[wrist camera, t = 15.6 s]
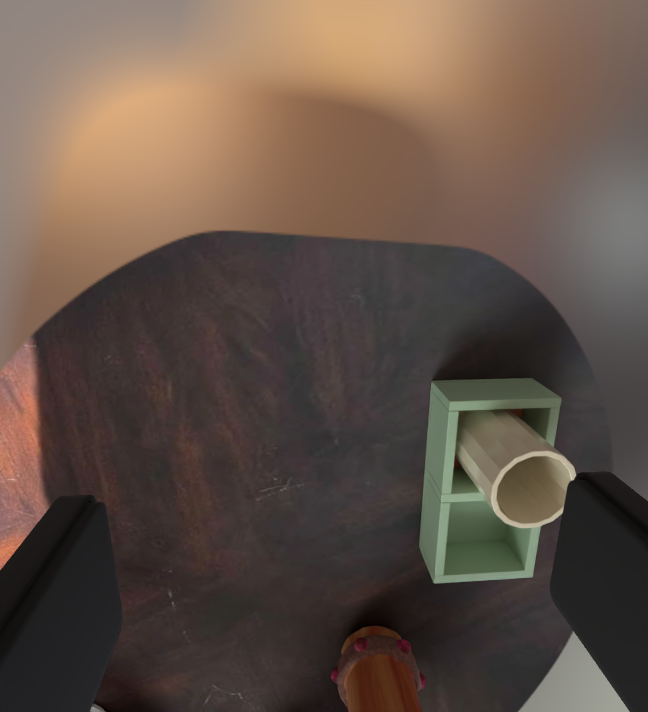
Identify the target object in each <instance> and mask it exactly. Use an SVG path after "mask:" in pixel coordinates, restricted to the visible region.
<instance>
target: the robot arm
mask: <svg viewBox="0 0 648 712" xmlns="http://www.w3.org/2000/svg"><path fill="white" fill-rule="evenodd" d="M550 592H551V596H552V599H553V601H554V603H555V605H556V606H557V608H558V609H559V611H560V612H561V614H562V615H563V616H564V618H565V619H566V621H567V622H568V624H569V625H570V626H571V628H572V629H573V631H574V632H575V634H576V635H577V636H578V638H579V639H580V641H581V642H582V644H583V645H584V647H585V648H586V649H587V651H588V652H589V654H590V655H591V657H592V658H593V659H594V661H595V662H596V664H597V665H598V667H599V668H600V669H601V671H602V672H603V674H604V675H605V677H606V678H607V680H608V681H609V682H610V684H611V685H612V687H613V688H614V690H615V691H616V692H617V694H618V695H619V697H620V698H621V700H622V701H623V702H624V704H625V705H626V707H627V708H628V710H629V711H630V712H648V501H647V500H645V499H644V498H643V497H641V496H640V495H639V494H638V493H636V492H635V491H634V490H633V489H631V488H630V487H629V486H627V485H626V484H625V483H624V482H622V481H621V480H620V479H619V478H617V477H616V476H615V475H614V474H612V473H610V472H605V471H604V472H582V473H579V474H577V475H576V477H575V478H574V480H572V481H570V482H569V484H568V486H567V491H566V497H565V503H564V508H563V514H562V519H561V525H560V531H559V536H558V542H557V548H556V553H555V559H554V564H553V570H552V576H551V581H550ZM121 626H122V608H121V601H120V595H119V589H118V582H117V576H116V569H115V563H114V557H113V550H112V544H111V537H110V531H109V525H108V518H107V512H106V507H105V505H104V503H102V502H96V499H95V497H94V496H92V495H78V496H61V497H59V498H58V499H56V500H55V502H54V503H53V504H52V506H51V507H50V508H49V509H48V511H47V512H46V513H45V514H44V516H43V517H42V518H41V520H40V521H39V522H38V523H37V525H36V526H35V527H34V528H33V530H32V531H31V532H30V533H29V535H28V536H27V537H26V539H25V540H24V541H23V542H22V544H21V545H20V546H19V547H18V549H17V550H16V551H15V553H14V554H13V555H12V556H11V558H10V559H9V560H8V561H7V563H6V564H5V565H4V567H3V568H2V569H1V570H0V712H90V710H91V707H92V705H93V702H94V700H95V697H96V694H97V692H98V689H99V687H100V684H101V681H102V679H103V676H104V674H105V671H106V668H107V666H108V663H109V661H110V658H111V655H112V653H113V650H114V648H115V645H116V642H117V640H118V637H119V634H120V631H121Z"/></svg>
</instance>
